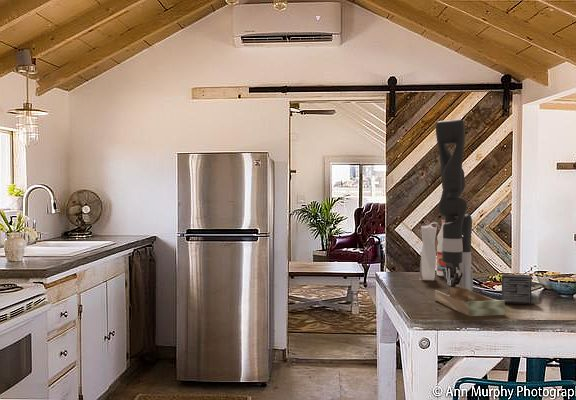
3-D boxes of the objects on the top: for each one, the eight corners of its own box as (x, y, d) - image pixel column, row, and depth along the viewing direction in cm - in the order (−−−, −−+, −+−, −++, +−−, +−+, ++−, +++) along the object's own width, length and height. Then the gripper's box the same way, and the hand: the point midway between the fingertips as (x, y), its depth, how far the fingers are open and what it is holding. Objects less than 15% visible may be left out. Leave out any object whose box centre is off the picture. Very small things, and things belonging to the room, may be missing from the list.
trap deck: (466, 299, 224) (466, 286, 224) (504, 314, 197) (504, 300, 197) (434, 300, 222) (434, 287, 222) (468, 316, 194) (469, 301, 194)
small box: (530, 301, 220) (530, 274, 219) (531, 304, 213) (531, 277, 213) (501, 299, 223) (501, 273, 223) (501, 303, 217) (502, 276, 217)
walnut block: (461, 299, 214) (461, 286, 213) (468, 302, 209) (468, 288, 208) (449, 299, 213) (449, 286, 213) (455, 302, 208) (455, 289, 208)
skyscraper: (437, 278, 276) (437, 221, 275) (437, 281, 268) (438, 222, 267) (419, 278, 277) (419, 221, 277) (419, 280, 270) (419, 222, 269)
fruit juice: (453, 273, 289) (453, 219, 289) (458, 276, 280) (458, 220, 279) (434, 273, 290) (435, 219, 289) (438, 276, 280) (439, 220, 280)
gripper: (469, 251, 209) (469, 298, 210) (453, 248, 222) (453, 291, 223) (450, 252, 208) (450, 298, 209) (435, 248, 221) (435, 292, 222)
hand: (451, 294), depth 216 cm, fingers closed
